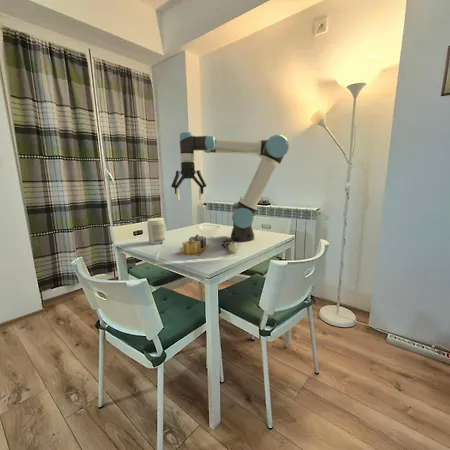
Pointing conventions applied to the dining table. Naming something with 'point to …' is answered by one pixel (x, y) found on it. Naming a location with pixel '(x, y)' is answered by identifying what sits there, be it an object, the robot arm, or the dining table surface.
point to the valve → (230, 246)
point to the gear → (202, 241)
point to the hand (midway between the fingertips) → (189, 199)
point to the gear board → (200, 248)
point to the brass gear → (191, 247)
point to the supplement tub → (156, 230)
